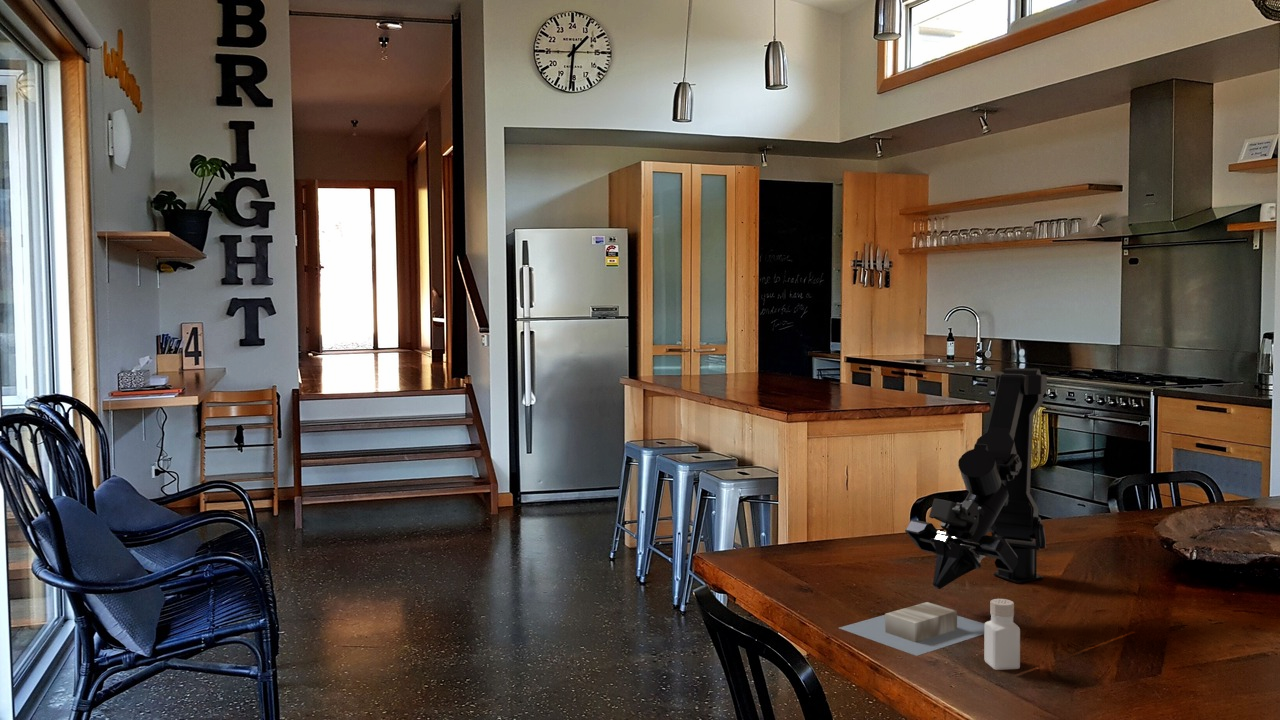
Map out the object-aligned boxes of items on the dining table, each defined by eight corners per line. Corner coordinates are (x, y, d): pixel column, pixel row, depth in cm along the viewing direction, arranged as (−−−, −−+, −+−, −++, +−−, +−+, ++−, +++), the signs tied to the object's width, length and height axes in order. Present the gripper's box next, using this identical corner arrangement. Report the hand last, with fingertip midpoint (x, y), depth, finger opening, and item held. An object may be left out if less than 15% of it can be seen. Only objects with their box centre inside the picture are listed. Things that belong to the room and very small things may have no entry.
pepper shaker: (982, 662, 148) (982, 598, 148) (1009, 660, 149) (1009, 597, 148) (994, 672, 144) (994, 606, 144) (1021, 670, 145) (1021, 605, 144)
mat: (920, 606, 175) (920, 604, 175) (1000, 630, 162) (1000, 628, 162) (838, 629, 164) (838, 627, 164) (916, 657, 150) (916, 655, 150)
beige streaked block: (927, 601, 167) (885, 613, 161) (957, 610, 162) (915, 623, 156) (927, 619, 167) (885, 632, 161) (957, 629, 162) (915, 642, 156)
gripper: (912, 472, 173) (867, 546, 167) (1007, 488, 157) (961, 570, 152) (942, 512, 178) (900, 585, 172) (1037, 531, 162) (994, 612, 157)
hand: (936, 587), depth 163 cm, fingers closed
